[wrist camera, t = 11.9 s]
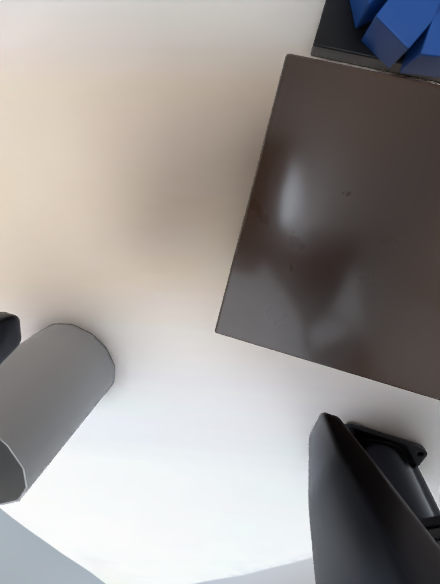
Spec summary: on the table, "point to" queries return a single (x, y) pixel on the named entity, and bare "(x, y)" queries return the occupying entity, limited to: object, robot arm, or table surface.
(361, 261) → the box
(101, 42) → the table surface
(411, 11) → the ring
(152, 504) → the table surface
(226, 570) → the table surface
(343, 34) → the peg stand
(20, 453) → the cup
